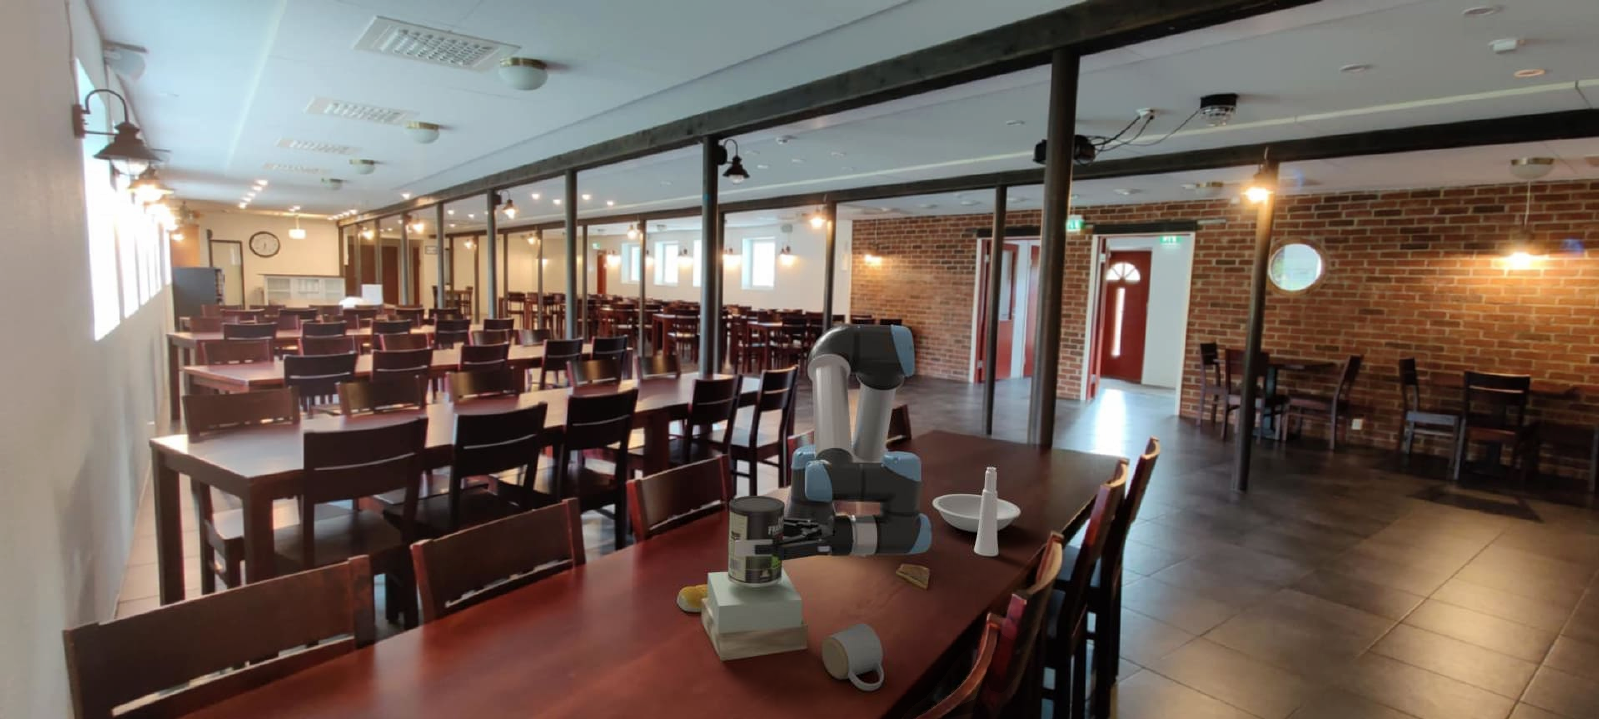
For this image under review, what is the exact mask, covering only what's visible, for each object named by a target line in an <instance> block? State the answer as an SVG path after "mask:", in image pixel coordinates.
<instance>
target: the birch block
mask: <svg viewBox="0 0 1599 719" xmlns="http://www.w3.org/2000/svg"><path fill="white" fill-rule="evenodd" d="M700 613H701V616H700V618H701V619H700V620H701V623H702V625H703V627H704V629H705V631H706V633H707V635H708V638H709V639H710V642H711V643H712V646H713V647H714V650H715V651H716V653H717V655H718V657H719V659H720V662H724V661H729V660H730V661H731V660H737V659H743V658H750V657H751V658H752V657H758V656H765V655H771V654H778V653H785V652H792V651H799V650H805V649H808V634H809V633H808V632H809V625H808V623H807V621H805V620H804V618H803V617H802V616H801V627H790V628H778V629H766V630H754V631H743V632H731V633H719V634H718V631H717V628H716V625H715V621H714V618H713V615H712V611H711V608H710V605H709V601H708V598H704V599H702V609H701V612H700Z"/></svg>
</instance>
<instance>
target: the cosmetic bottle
mask: <svg viewBox="0 0 1599 719" xmlns="http://www.w3.org/2000/svg"><path fill="white" fill-rule="evenodd" d="M997 476H998V473H997V468H996V467H993V466H989V467H988V466H987V467H986V471H985V478H984V479H985V480H984V488H983V490H982V492H981V494H982V495H981V496H982V501H981V510H980V519H979V527H978V532H977V535H976V540H975V545H974V549H973V551H974V553H976V554H977V555H979V556H983V557H996V556H998V554H999V547H998V531H997V499H998V491H997V479H998V478H997Z"/></svg>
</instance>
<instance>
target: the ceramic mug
mask: <svg viewBox="0 0 1599 719" xmlns="http://www.w3.org/2000/svg"><path fill="white" fill-rule="evenodd" d="M882 647H883V646H882V644H881V640H880V638H879V636H878V635H877V633H876V631H875V630H874V629H873V628H872V626H871V625H869V624H867V623H864V622H859V623H857V624H855V625H853V626H850V627H847V628H845V629H843V630H841V631H839V632H836V633H834V634H832V635H830V636H829V637H827V638H826V639H825V640H824V642H823V645H822V647H821V648H822V649H821V656H822V661H823V664H824V667H825V668H826V670H827V672H828V673H829V674H830V675H831V676H832V677H834V678H835V679H836V680H847V679H849V680H850V681H851V683H852V684H853V685H854V686H856V688H858V689H860V690H862V691H867V692H871V691H872V692H873V691H875V690H878V689H879V688H880V687H881V686H882V683H883V682H884V679H885V678H884V676H885V675H884V669H883V667H882V665H881V664H882V662H883V654H884V653H883V648H882ZM874 670H876V672H877V674H878V677H879V681H878V682H875V683H866V682H863V681H862V680H860V679H859V677H858V676H859V675H862V674H866V673H868V672H871V671H874Z"/></svg>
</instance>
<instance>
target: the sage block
mask: <svg viewBox="0 0 1599 719" xmlns="http://www.w3.org/2000/svg"><path fill="white" fill-rule="evenodd" d="M727 574H728V571H717V572H708V573H707V584H708V592H707V598H708V601H709V605H710V608H711V611H712V615H713V618H714V621H715V625H716V628H717V631H718V634H719V633H731V632H743V631H754V630H766V629H778V628H790V627H801V617H802V609H803V608H802V607H803V599H802V598H801V596H800V594H799V592H798V591H797V589H796V587H795V586H794V584H793V583H792V581H791V579H790V577H789V576H788V573H787V572H786V571H785V569H784V567H782V578H781V580H780V581H779V582H778V583H776V584H773V585H770V586H766V587H746V586H741V585H737V584H734V583H733V582H731V581H730V580H729V579H728V577H727Z"/></svg>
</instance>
